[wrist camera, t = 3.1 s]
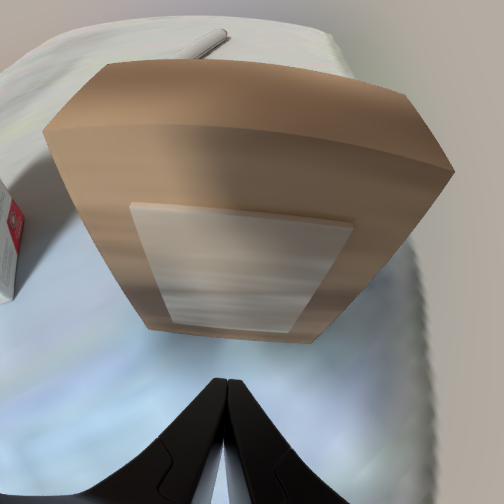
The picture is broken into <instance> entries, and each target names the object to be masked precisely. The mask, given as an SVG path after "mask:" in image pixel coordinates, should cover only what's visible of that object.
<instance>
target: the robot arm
mask: <svg viewBox="0 0 504 504" xmlns="http://www.w3.org/2000/svg"><path fill="white" fill-rule="evenodd" d="M227 383H228V385H227ZM224 427H225V428H224ZM223 441H224V456H225V466H226V476H227V485H228V493H229V502H230V504H350V503H348V502H347V501H346V500H345V499H344V498H342V497H341V496H340V495H339V494H337V493H336V492H335V491H334V490H333V489H332V488H330V487H329V486H328V485H327V484H326V483H325V482H323V481H322V480H321V479H320V478H319V477H318V476H317V475H316V474H315V473H314V472H313V471H312V470H311V469H310V468H309V467H308V466H307V465H306V464H305V463H304V462H303V460H302V459H301V458H300V457H299V456H298V455H297V453H296V452H295V451H294V449H292V448H291V446H290V445H289V443H288V442H287V441H286V439H285V438H284V437H283V436H282V434H281V433H280V432H279V430H278V429H277V428H276V426H275V425H274V424H273V423H272V421H271V420H270V419H269V417H268V416H267V414H266V413H265V412H264V410H263V409H262V408H261V406H260V405H259V404H258V402H257V401H256V399H255V398H254V397H253V395H252V394H251V392H250V391H249V390H248V388H247V387H246V385H245V384H244V383H243V381H242V380H236V379H229V380H227V379H224V378H213V379H212V380H211V381H210V383H209V384H208V385H207V386H206V387H205V388H204V389H203V390H202V391H201V392H200V393H199V394H198V396H197V397H196V398H195V399H194V400H193V401H192V402H191V403H190V404H189V405H188V406H187V407H186V408H185V409H184V410H183V411H182V412H181V414H180V415H179V416H178V417H177V418H176V419H175V420H174V421H173V422H172V423H171V424H170V425H169V426H168V427H167V428H166V429H165V430H164V431H163V432H162V433H161V434H160V435H159V436H158V438H156V439H155V440H154V441H153V442H152V443H151V444H150V445H149V446H148V447H147V448H146V449H145V450H143V451H142V452H141V453H140V454H139V455H138V456H137V457H135V458H134V459H133V460H131V461H130V462H129V463H127V464H126V465H125V466H123V467H122V468H120V469H119V470H117V471H116V472H114V473H113V474H111V475H110V476H108V477H107V478H105V479H104V480H102V481H101V482H99V483H98V484H96V485H95V486H93V487H91V488H90V489H88V490H86V491H83V492H80V493H77V494H73V495H61V496H20V495H7V494H1V493H0V504H211V499H212V495H213V490H214V486H215V481H216V477H217V472H218V467H219V463H220V458H221V454H222V448H223Z"/></svg>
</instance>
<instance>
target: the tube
mask: <svg viewBox="0 0 504 504" xmlns="http://www.w3.org/2000/svg"><path fill="white" fill-rule="evenodd" d="M226 37H227V32H226V30H224V29H216V30H214V31H212V32H210V33H208V34H206V35H205V36H203V37H201V38H199V39H198V40H196V41H194V42H193V43H191V44H189V45H188V46H186V47H184V48H183V49H181V50H180V51H178V52H177V53H175V54H173V55H172V56H170V57H169V58H167V59H199V58H200V57H201V56H203V55H204V54H206V53H207V52H208V51H210V50H211V49H213V48H214V47H216V46H217V45H218V44H220V43H221V42H223V41H224V40H225V39H226Z"/></svg>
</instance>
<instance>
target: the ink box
mask: <svg viewBox="0 0 504 504" xmlns="http://www.w3.org/2000/svg"><path fill="white" fill-rule="evenodd" d="M23 221H24V215H23V214H22V212H21V211H20V209H19V208H18V206H17V205H16V203H15V202H14V200H13V199H12V197H11V195H10V194H9V192H8V191H7V189H6V187H5V186H4V184H3V182H2V181H1V179H0V304H1V303H5V302H9V301H12V300H13V295H14V283H15V272H16V264H17V256H18V249H19V243H20V237H21V231H22V226H23Z"/></svg>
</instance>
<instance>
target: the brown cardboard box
mask: <svg viewBox="0 0 504 504" xmlns="http://www.w3.org/2000/svg"><path fill="white" fill-rule="evenodd" d="M42 132H43V134H44V137H45V140H46V142H47V145H48V147H49V150H50V152H51V155H52V157H53V159H54V162H55V164H56V166H57V169H58V171H59V173H60V176H61V178H62V180H63V182H64V184H65V187H66V189H67V191H68V193H69V195H70V197H71V199H72V201H73V203H74V205H75V207H76V209H77V211H78V213H79V215H80V217H81V219H82V221H83V223H84V225H85V227H86V229H87V231H88V232H89V234H90V236H91V238H92V240H93V242H94V243H95V245H96V247H97V249H98V251H99V252H100V254H101V256H102V258H103V259H104V261H105V263H106V264H107V266H108V268H109V269H110V271H111V273H112V274H113V276H114V278H115V279H116V281H117V282H118V284H119V286H120V287H121V289H122V290H123V292H124V294H125V295H126V297H127V298H128V300H129V301H130V303H131V304H132V306H133V307H134V309H135V310H136V312H137V313H138V315H139V316H140V318H141V319H142V321H143V322H144V324H145V325H146V326H147V328H148V329H151V330H158V331H165V332H173V333H181V334H189V335H198V336H207V337H217V338H228V339H240V340H254V341H269V342H289V343H312V342H313V341H314V340H315V339H316V338H317V337H318V336H319V335H320V334H321V333H322V332H323V331H324V330H325V329H326V328H327V327H328V326H329V325H330V324H331V323H332V322H333V321H334V320H335V319H336V318H337V317H338V316H339V315H340V314H341V313H342V312H343V311H344V310H345V309H346V308H347V306H348V305H349V304H350V303H351V302H352V301H353V300H354V299H355V298H356V297H357V296H358V295H359V293H360V292H361V291H362V290H363V289H364V288H365V287H366V286H367V285H368V283H369V282H370V281H371V280H372V279H373V278H374V277H375V275H376V274H377V273H378V272H379V271H380V270H381V269H382V267H383V266H384V265H385V264H386V263H387V261H388V260H389V259H390V258H391V257H392V256H393V254H394V253H395V252H396V251H397V249H398V248H399V247H400V246H401V245H402V243H403V242H404V241H405V240H406V238H407V237H408V236H409V235H410V233H411V232H412V231H413V229H414V228H415V227H416V225H417V224H418V223H419V222H420V220H421V219H422V218H423V216H424V215H425V214H426V212H427V211H428V210H429V208H430V207H431V205H432V204H433V203H434V201H435V200H436V199H437V197H438V196H439V195H440V193H441V192H442V190H443V189H444V187H445V186H446V185H447V183H448V182H449V180H450V178H451V177H452V176H453V174H454V173H455V171H454V169H453V167H452V165H451V164H450V162H449V160H448V159H447V157H446V155H445V153H444V152H443V150H442V148H441V147H440V145H439V143H438V142H437V140H436V139H435V137H434V136H433V134H432V132H431V131H430V129H429V128H428V126H427V125H426V124H425V122H424V121H423V119H422V118H421V116H420V115H419V113H418V112H417V111H416V109H415V108H414V106H413V105H412V104H411V102H410V101H409V100H408V98H407V97H406V96H405V95H404V94H401V93H398V92H395V91H392V90H389V89H386V88H382V87H379V86H376V85H372V84H369V83H365V82H361V81H357V80H353V79H349V78H345V77H341V76H337V75H332V74H327V73H323V72H318V71H312V70H307V69H301V68H295V67H288V66H282V65H274V64H266V63H257V62H246V61H233V60H214V59H163V60H144V61H132V62H121V63H113V64H107V65H106V66H105V67H103V68H102V69H101V70H100V71H99V72H98V73H97V74H96V75H95V76H94V77H93V78H91V79H90V80H89V81H88V82H87V83H86V84H85V85H84V86H83V87H82V88H81V89H80V90H79V91H78V92H77V93H76V94H75V95H74V96H73V97H72V98H71V99H70V100H69V101H68V102H67V104H66V105H65V106H64V107H63V108H62V109H61V110H60V111H59V112H58V113H57V115H56V116H55V117H54V118H53V119H52V120H51V121H50V123H49V124H48V125H47V126H46V127H45V128H44V130H43V131H42Z"/></svg>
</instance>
